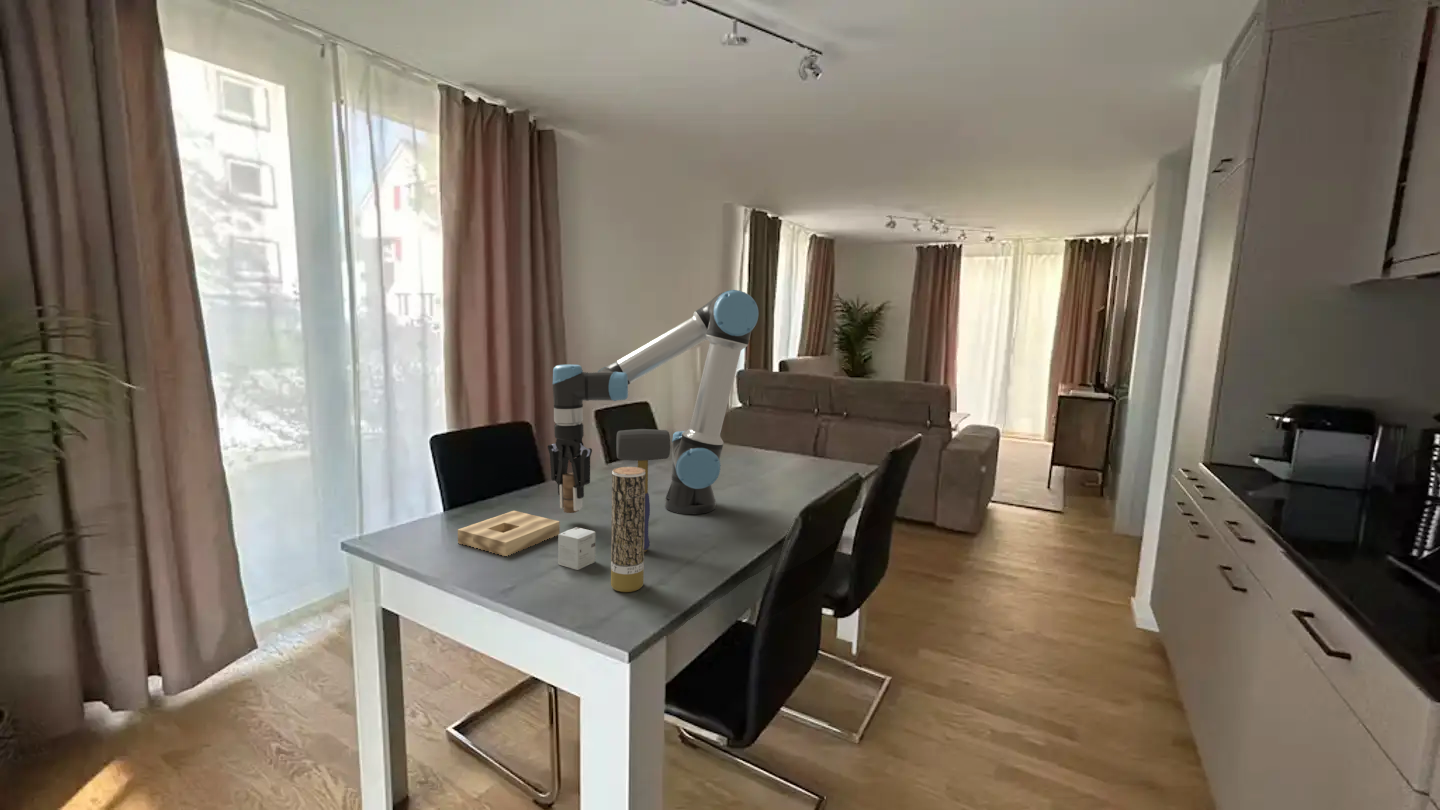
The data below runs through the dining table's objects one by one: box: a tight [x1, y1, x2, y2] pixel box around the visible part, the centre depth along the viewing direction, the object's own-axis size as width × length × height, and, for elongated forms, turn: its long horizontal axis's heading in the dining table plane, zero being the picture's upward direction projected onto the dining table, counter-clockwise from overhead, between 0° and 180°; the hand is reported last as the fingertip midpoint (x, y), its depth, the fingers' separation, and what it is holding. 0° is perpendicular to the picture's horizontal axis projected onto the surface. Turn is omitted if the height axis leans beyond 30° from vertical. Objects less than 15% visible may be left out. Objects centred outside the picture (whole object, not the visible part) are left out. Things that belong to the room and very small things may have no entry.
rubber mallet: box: [615, 428, 671, 553], centre depth 149 cm, size 12×8×30 cm, turn 104°
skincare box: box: [557, 526, 596, 571], centre depth 142 cm, size 6×6×7 cm
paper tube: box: [610, 466, 646, 593], centre depth 129 cm, size 7×7×25 cm
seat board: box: [457, 510, 561, 557], centre depth 156 cm, size 16×18×4 cm
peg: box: [563, 472, 580, 514], centre depth 168 cm, size 4×4×10 cm
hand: (571, 508), depth 168 cm, fingers closed on peg, 4 cm apart
